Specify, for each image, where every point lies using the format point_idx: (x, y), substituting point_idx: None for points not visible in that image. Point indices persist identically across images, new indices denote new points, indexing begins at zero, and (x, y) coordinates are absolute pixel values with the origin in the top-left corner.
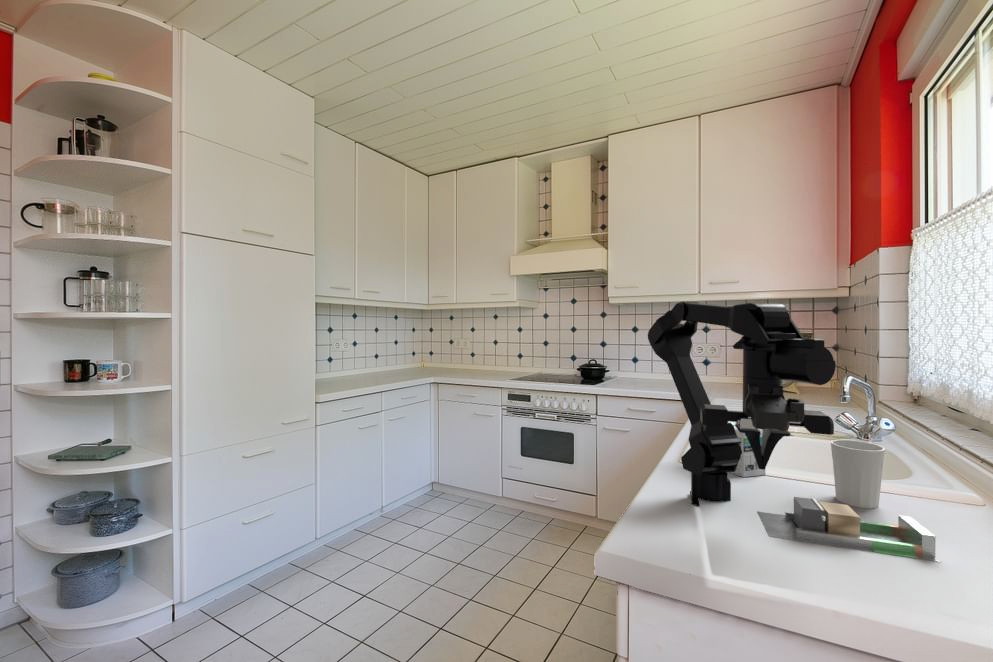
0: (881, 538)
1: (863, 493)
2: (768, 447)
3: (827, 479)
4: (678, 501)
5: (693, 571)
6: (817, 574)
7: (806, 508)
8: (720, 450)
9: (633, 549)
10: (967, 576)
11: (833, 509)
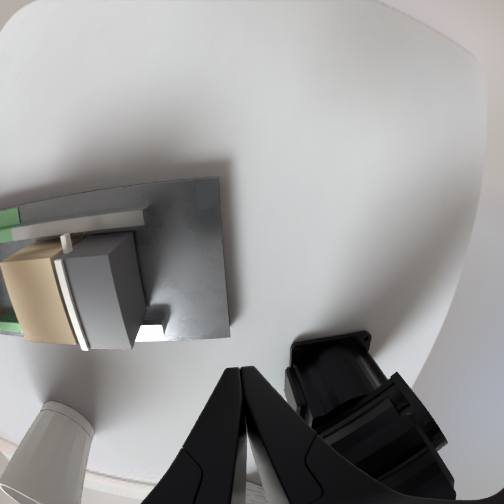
0: None
1: (42, 428)
2: (209, 476)
3: (119, 487)
4: (389, 336)
5: (379, 9)
6: (140, 66)
7: (96, 257)
8: (382, 452)
9: (463, 73)
10: None
11: (42, 296)
